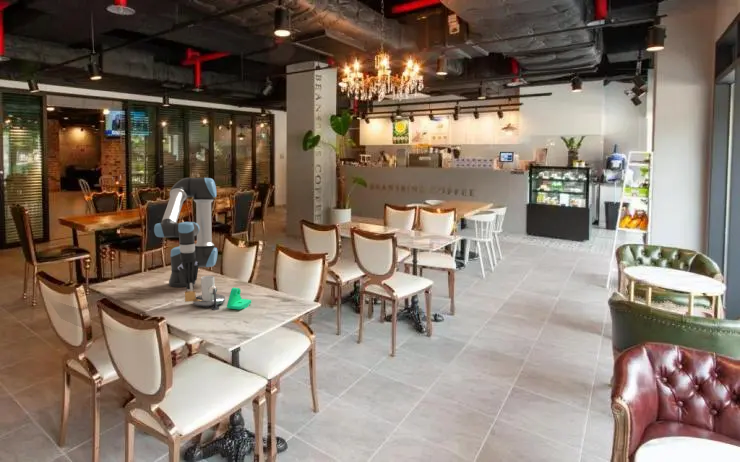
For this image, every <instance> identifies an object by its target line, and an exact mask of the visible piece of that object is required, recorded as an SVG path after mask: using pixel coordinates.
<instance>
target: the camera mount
mask: <svg viewBox="0 0 740 462" xmlns="http://www.w3.org/2000/svg"><path fill="white" fill-rule="evenodd" d="M229 293H230V294H229V297H228V300H227V304H226V308H227V309H232V310H245V309H246V308H249V305H251V304H252V299H247V298H242V296H241V293H242V291H241V288H240V287H231V289H230V292H229Z"/></svg>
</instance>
